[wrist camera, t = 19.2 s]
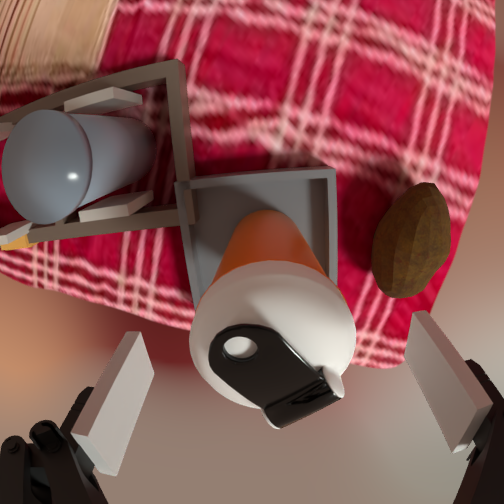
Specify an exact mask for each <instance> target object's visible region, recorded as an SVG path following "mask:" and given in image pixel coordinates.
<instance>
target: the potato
mask: <svg viewBox="0 0 504 504" xmlns="http://www.w3.org/2000/svg"><path fill="white" fill-rule="evenodd" d="M450 245H451V236H450V216H449V211H448V207H447V204H446V201H445V199H444V197H443V196H442V194H441V193H440V191H439V190H438V188H437V187H436V185H435V184H434V183H426V182H423V183H419V184H417V185H415V186H413V187H411V188H409V189H408V190H407V191H406V192H405V193H404V194H403V195H402V196H401V197H400V198H399V199H398V200H397V201H396V202H395V203H394V204H393V205H392V206H391V207H390V208H389V209H388V211H387V212H386V213H385V215H384V216H383V218H382V219H381V220H380V222H379V224H378V226H377V229H376V231H375V234H374V239H373V246H372V254H371V259H372V273H373V275H374V278H375V280H376V282H377V285H378V287H379V289H380V290H381V291H382V292H383V293H384V294H385V295H387V296H389V297H392V298H405V297H411V296H414V295H416V294H418V293H419V292H421V291H422V290H424V288H425V287H426V285H427V283H428V282H429V280H430V279H431V278H432V276H433V275H434V273H435V272H436V271H437V270H438V269H439V268H440V267H441V266H442V265H443V263H444V262H445V260H446V259H447V257H448V255H449V253H450Z"/></svg>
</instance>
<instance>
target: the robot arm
mask: <svg viewBox="0 0 504 504" xmlns="http://www.w3.org/2000/svg"><path fill="white" fill-rule="evenodd" d="M404 358H405V359H406V361H407V363H408V365H409V367H410V369H411V371H412V372H413V374H414V376H415V378H416V380H417V382H418V384H419V386H420V388H421V390H422V392H423V394H424V396H425V398H426V400H427V402H428V404H429V406H430V408H431V410H432V412H433V414H434V416H435V418H436V420H437V422H438V424H439V426H440V428H441V430H442V433H443V434H444V437H445V439H446V441H447V443H448V446H449V448H450V450H451V452H452V453H455V452H458V451H461V450H463V449H466V448H468V446H469V445H470V443H471V441H472V440H473V441H474V443H475V445H476V446H475V447H474V449H473V450H472V452H471V454H470V455H469V457H468V458H467V461H468V460H469V459H470V461H469V464H468V467H467V470H466V473H465V475H464V478H463V480H462V483H461V486H460V488H459V490H458V493H457V496H456V498H455V500H454V502H453V504H504V398H503V397H502V395H501V394H500V393H499V391H498V390H497V388H496V387H495V386H494V384H493V383H492V381H490V378H489V377H488V376H487V374H485V372H484V370H483V369H482V368H481V366H480V365H479V364H477V363H476V362H474V361H473V360H471V359H470V360H466V361H464V360H463V359H462V357H461V356H460V355H459V353H458V352H457V350H456V349H455V348H454V346H453V345H452V344H451V342H450V341H449V339H448V338H447V337H446V335H445V334H444V333H443V332H442V331H441V329H440V328H439V326H438V325H437V324H436V322H435V321H434V320H433V319H432V317H431V316H430V315H429V314H428V312H427V311H426V310H425V311H418V312H413V313H412V319H411V324H410V330H409V335H408V340H407V344H406V349H405V353H404ZM153 376H154V371H153V368H152V365H151V362H150V359H149V356H148V353H147V350H146V347H145V344H144V341H143V338H142V335H141V332H126V334H125V336H124V337H123V339H122V340H121V342H120V344H119V346H118V348H117V349H116V351H115V353H114V354H113V356H112V358H111V359H110V361H109V363H108V365H107V366H106V368H105V370H104V371H103V373H102V375H101V377H100V379H99V381H98V382H97V384H96V386H95V387H87V388H85V389H84V390H83V391H82V392H81V393H80V394H79V395H78V397H77V399H76V401H75V404H73V406H72V407H71V410H70V411H69V413H68V415H67V417H66V418H65V420H64V422H63V424H62V426H61V427H60V429H59V428H58V427H57V425H56V424H55V423H54V422H52V421H50V420H43V421H40V422H38V423H36V424H35V425H34V426H33V427H32V428H31V430H30V433H29V437H30V439H31V440H32V441H33V444H32V443H30V444H27V443H26V442H25V441H24V439H23V438H22V437H20V436H11V437H8V438H7V439H6V440H5V441H4V442H3V444H2V446H1V452H0V504H108V502H107V500H106V498H105V496H104V494H103V492H102V490H101V488H100V486H99V484H98V482H97V479H96V477H95V475H94V474H93V473H92V471H93V468H94V466H96V468H97V469H98V470H99V471H100V473H104V474H108V475H113V476H117V473H118V471H119V468H120V465H121V462H122V460H123V457H124V454H125V451H126V448H127V446H128V443H129V440H130V437H131V434H132V432H133V429H134V426H135V423H136V421H137V418H138V415H139V413H140V410H141V408H142V405H143V402H144V399H145V397H146V394H147V392H148V389H149V387H150V384H151V381H152V379H153Z"/></svg>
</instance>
